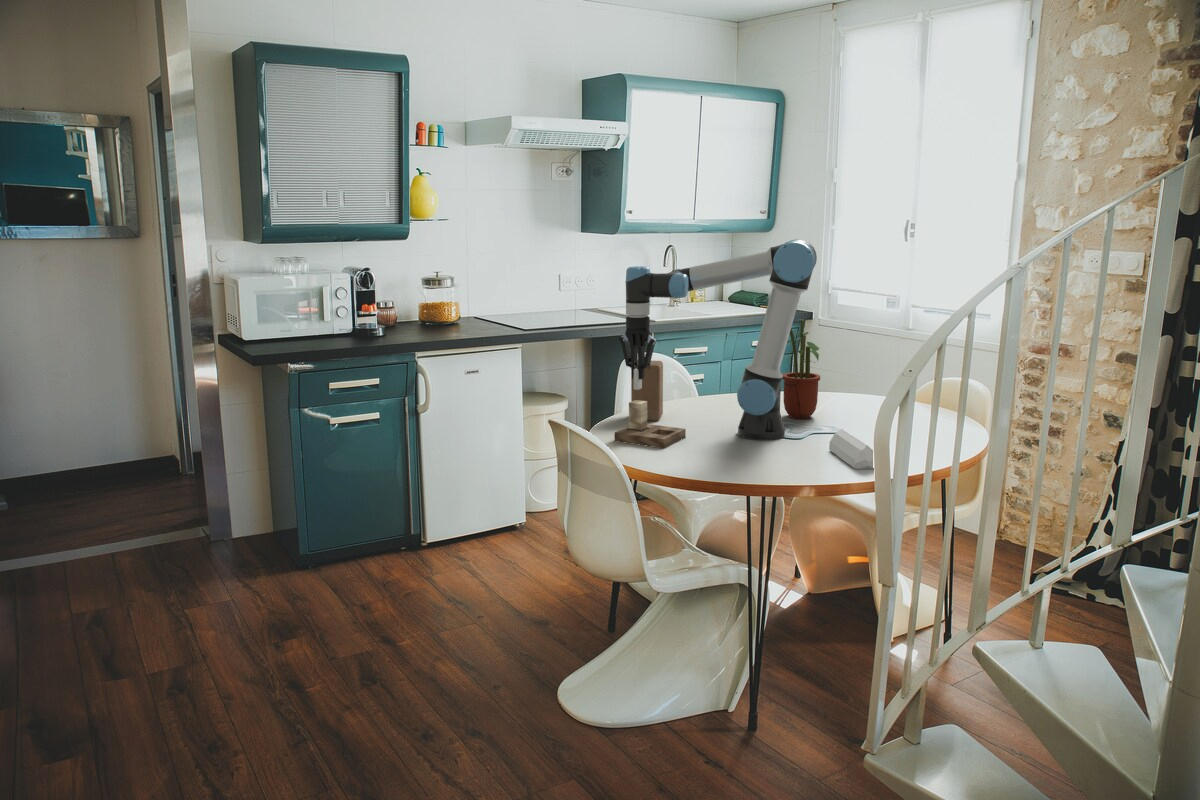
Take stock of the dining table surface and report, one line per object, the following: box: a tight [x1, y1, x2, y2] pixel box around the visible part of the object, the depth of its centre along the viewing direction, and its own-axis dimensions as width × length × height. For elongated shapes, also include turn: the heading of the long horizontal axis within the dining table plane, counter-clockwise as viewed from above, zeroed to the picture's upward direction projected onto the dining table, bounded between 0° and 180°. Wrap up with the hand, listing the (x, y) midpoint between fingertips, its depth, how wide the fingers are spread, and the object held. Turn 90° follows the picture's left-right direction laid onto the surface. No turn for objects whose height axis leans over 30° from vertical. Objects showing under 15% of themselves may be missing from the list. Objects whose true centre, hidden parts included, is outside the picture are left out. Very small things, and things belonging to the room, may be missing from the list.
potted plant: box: [782, 318, 821, 420], centre depth 328 cm, size 17×16×35 cm
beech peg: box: [628, 400, 648, 432], centre depth 302 cm, size 4×4×12 cm
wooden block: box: [630, 360, 664, 422], centre depth 328 cm, size 10×10×20 cm
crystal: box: [828, 428, 874, 470], centre depth 276 cm, size 7×7×24 cm
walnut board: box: [613, 423, 687, 449], centre depth 301 cm, size 18×15×3 cm
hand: (637, 388), depth 300 cm, fingers closed
